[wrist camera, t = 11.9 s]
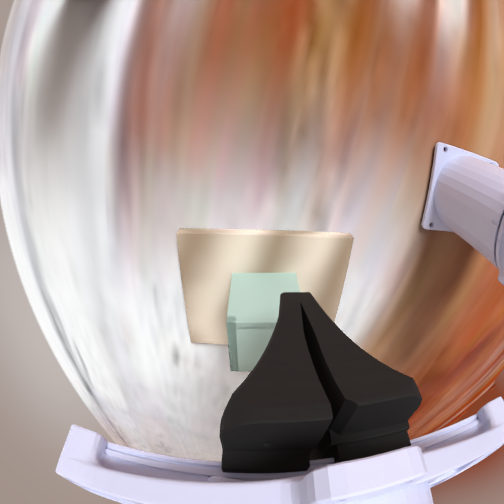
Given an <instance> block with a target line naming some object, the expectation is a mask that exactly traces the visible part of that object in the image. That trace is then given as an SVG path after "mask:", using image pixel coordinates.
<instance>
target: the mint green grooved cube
mask: <svg viewBox="0 0 504 504" xmlns="http://www.w3.org/2000/svg"><path fill="white" fill-rule="evenodd" d="M283 292H300V289H299V284H298V280H297V276H296V273H232V279H231V287H230V295H229V303H228V312H227V320H226V325H227V336H228V347H229V357H230V367H231V371H252V370H253V368H254V367H255V366H256V364H257V362H258V361H259V359H260V358H261V356H262V354H263V352H264V351H265V349H266V347H267V345H268V343H269V341H270V338H271V336H272V334H273V331H274V328H275V326H276V323H277V319H278V316H279V305H280V294H281V293H283Z"/></svg>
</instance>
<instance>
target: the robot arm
mask: <svg viewBox="0 0 504 504" xmlns="http://www.w3.org/2000/svg"><path fill="white" fill-rule="evenodd" d="M444 147H445V151H444ZM430 223H431V225H430V226H429V224H430ZM421 225H422V227H423V228H424V229H426V230H438V231H449V232H455V233H456V234H457V235H459V236H460V237H461V238H462V239H464V240H465V241H466V242H467V243H469V244H470V245H471V246H472V247H474V248H475V249H476V250H477V251H478V252H479V253H481V254H482V255H483V256H484V257H485V258H486V259H488V260H489V261H490V262H491V263H492V264H493V265H494V266H495V267H496V268H498V269H499V277H498V280H499V281H500V282H501V283H502V284H503V285H504V169H503V168H500V167H499V165H498V163H497V162H495V161H492V160H490V159H487V158H485V157H482V156H480V155H477V154H474V153H471V152H469V151H466V150H463V149H460V148H457V147H454V146H451V145H448V144H444V143H441V142H438V143H437V144H436V145H435V152H434V160H433V167H432V173H431V179H430V185H429V190H428V196H427V201H426V205H425V210H424V214H423V219H422V223H421ZM421 401H422V397H421V395H420V392H419V390H418V387H417V385H416V383H415V381H414V380H413V378H411V377H409V376H407V375H404V374H402V373H400V372H398V371H396V370H394V369H392V368H390V367H388V366H387V365H385V364H383V363H382V362H380V361H378V360H377V359H375V358H374V357H372V356H371V355H370V354H368V353H367V352H365V351H364V350H363V349H361V348H360V347H359V346H358V345H356V344H355V343H354V342H353V341H352V340H351V339H349V338H348V337H347V336H346V335H345V334H344V333H343V332H342V331H341V330H340V329H339V328H338V326H337V325H336V324H335V323H334V322H333V321H332V320H331V318H330V317H329V316H328V315H327V314H326V313H325V311H324V310H323V309H322V307H321V306H320V305H319V304H318V302H317V301H316V300H315V298H314V297H313V296H312V294H311V293H310V292H283V293H281V294H280V305H279V316H278V319H277V323H276V326H275V328H274V331H273V334H272V336H271V338H270V341H269V343H268V345H267V347H266V349H265V351H264V352H263V354H262V356H261V358H260V359H259V361H258V362H257V364H256V366H255V367H254V368H253V370H252V371H251V372H250V374H249V375H248V377H247V378H246V379H245V380H244V382H243V383H242V384H241V385H240V386H239V387H238V388H237V389H236V390H235V392H234V393H233V394H232V396H231V398H230V400H229V402H228V404H227V406H226V408H225V411H224V413H223V416H222V419H221V424H220V440H221V444H222V448H223V453H222V462H215V461H204V460H194V459H186V458H179V457H173V456H167V455H161V454H156V453H151V452H146V451H142V450H137V449H133V448H129V447H125V446H121V445H118V444H114V443H110V442H107V440H106V439H105V438H104V437H103V436H102V435H101V434H99V433H97V432H95V431H92V430H89V429H86V428H83V427H81V426H78V425H75V424H73V425H72V426H71V428H70V432H69V434H68V436H67V439H66V442H65V444H64V447H63V450H62V453H61V456H60V459H59V461H58V464H57V467H56V473H57V474H59V475H60V476H62V477H64V478H65V479H67V480H69V481H71V482H72V483H74V484H76V485H78V486H80V487H81V488H83V489H85V490H87V491H90V492H92V493H95V494H97V495H100V496H103V497H105V498H108V499H111V500H114V501H117V502H120V503H123V504H433V499H432V495H431V491H430V488H431V487H433V486H435V485H438V484H440V483H442V482H444V481H446V480H448V479H450V478H451V477H453V476H455V475H457V474H459V473H461V472H462V471H464V470H466V469H468V468H469V467H471V466H473V465H474V464H476V463H478V462H480V461H481V460H483V459H484V458H486V457H487V456H489V455H490V454H492V453H493V452H494V451H495V450H497V449H498V448H499V447H501V446H502V445H503V444H504V401H503V400H502V398H501V397H498V398H496V399H494V400H492V401H490V402H488V403H487V404H486V405H484V406H483V407H482V408H481V409H480V410H479V411H478V413H477V414H475V415H473V416H471V417H469V418H467V419H465V420H462V421H460V422H458V423H456V424H453V425H451V426H448V427H446V428H443V429H441V430H438V431H436V432H433V433H430V434H427V435H424V436H422V437H419V438H415V439H412V440H410V439H409V436H408V433H407V430H408V429H409V423H408V419H409V418H410V417H411V416H412V414H413V413H414V412H415V411H416V410H417V408H418V407H419V406H420V404H421Z"/></svg>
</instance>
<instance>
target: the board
mask: <svg viewBox="0 0 504 504" xmlns="http://www.w3.org/2000/svg"><path fill="white" fill-rule="evenodd" d="M353 239H354V238H353V237H352V235H351V234H350V233H336V232H311V231H281V230H242V229H179V230H178V232H177V244H178V253H179V262H180V270H181V278H182V285H183V292H184V299H185V306H186V313H187V319H188V325H189V331H190V337H191V342H193V343H208V344H228V336H227V325H226V320H227V312H228V303H229V295H230V287H231V279H232V273H296V276H297V280H298V284H299V289H300V292H310V293H311V294H312V296H313V297H314V298H315V300H316V301H317V302H318V304H319V305H320V306H321V307H322V309H323V310H324V311H325V313H326V314H327V315H328V316H329V317H330V318H331V320H332V321H333V322H334V321H335V317H336V313H337V310H338V306H339V302H340V298H341V294H342V290H343V285H344V281H345V277H346V272H347V268H348V263H349V259H350V254H351V249H352V244H353Z"/></svg>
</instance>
